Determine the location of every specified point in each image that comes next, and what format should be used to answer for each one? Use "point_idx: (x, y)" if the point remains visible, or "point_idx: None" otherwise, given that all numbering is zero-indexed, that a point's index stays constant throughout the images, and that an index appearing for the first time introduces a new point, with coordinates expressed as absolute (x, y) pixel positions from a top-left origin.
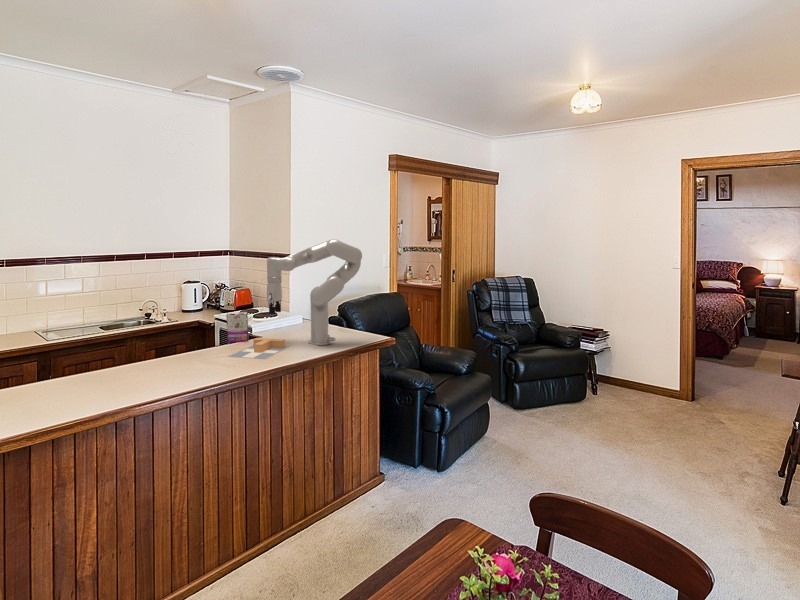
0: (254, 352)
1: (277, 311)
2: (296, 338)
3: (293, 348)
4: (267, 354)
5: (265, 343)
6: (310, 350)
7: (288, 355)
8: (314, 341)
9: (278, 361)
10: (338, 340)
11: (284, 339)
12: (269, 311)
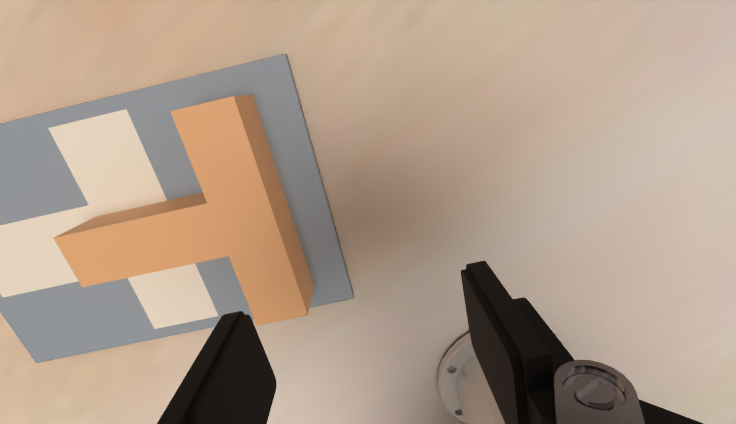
0: None
1: (467, 309)
2: (593, 185)
3: (326, 329)
4: (110, 315)
5: (146, 272)
6: (333, 413)
7: None
8: (458, 387)
9: (72, 413)
10: None
11: (306, 313)
12: (209, 347)
